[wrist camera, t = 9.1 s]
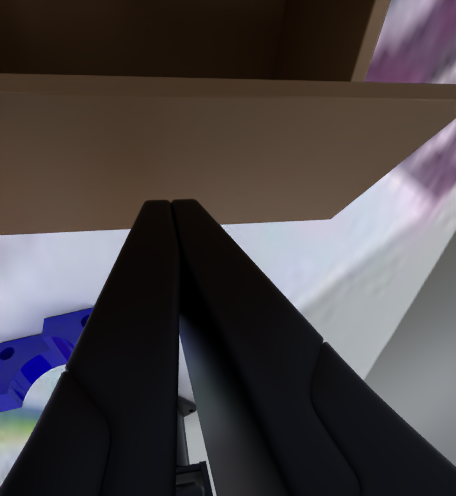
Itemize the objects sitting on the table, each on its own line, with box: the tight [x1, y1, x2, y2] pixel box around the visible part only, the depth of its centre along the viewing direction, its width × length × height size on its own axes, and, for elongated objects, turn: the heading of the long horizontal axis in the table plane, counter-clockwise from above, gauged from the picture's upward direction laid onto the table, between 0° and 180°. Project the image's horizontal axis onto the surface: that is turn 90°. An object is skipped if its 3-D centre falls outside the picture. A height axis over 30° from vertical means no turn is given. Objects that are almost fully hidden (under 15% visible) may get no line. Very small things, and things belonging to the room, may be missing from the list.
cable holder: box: [0, 308, 93, 412], centre depth 29 cm, size 8×4×4 cm, turn 96°
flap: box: [0, 73, 456, 235], centre depth 11 cm, size 7×13×1 cm, turn 83°
